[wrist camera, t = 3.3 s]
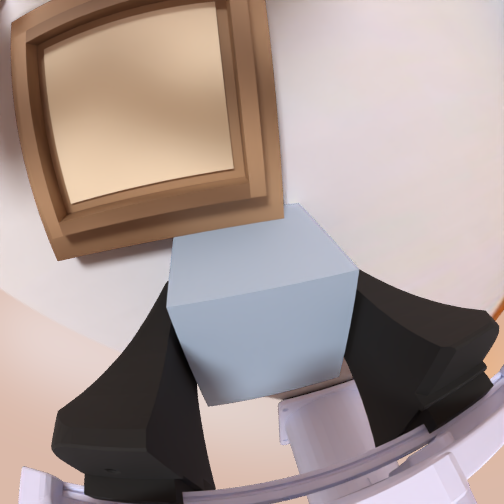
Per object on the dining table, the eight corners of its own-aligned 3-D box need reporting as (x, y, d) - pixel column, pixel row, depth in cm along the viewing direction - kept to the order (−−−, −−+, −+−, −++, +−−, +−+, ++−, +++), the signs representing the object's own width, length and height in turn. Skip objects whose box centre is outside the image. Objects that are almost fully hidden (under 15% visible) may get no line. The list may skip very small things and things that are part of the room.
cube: (299, 298, 14) (338, 376, 10) (199, 317, 13) (208, 406, 9) (298, 203, 11) (359, 269, 7) (175, 223, 11) (166, 307, 7)
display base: (275, 206, 11) (290, 227, 10) (67, 246, 10) (50, 272, 9) (251, -32, 6) (264, -55, 4) (26, 27, 5) (0, 19, 3)
